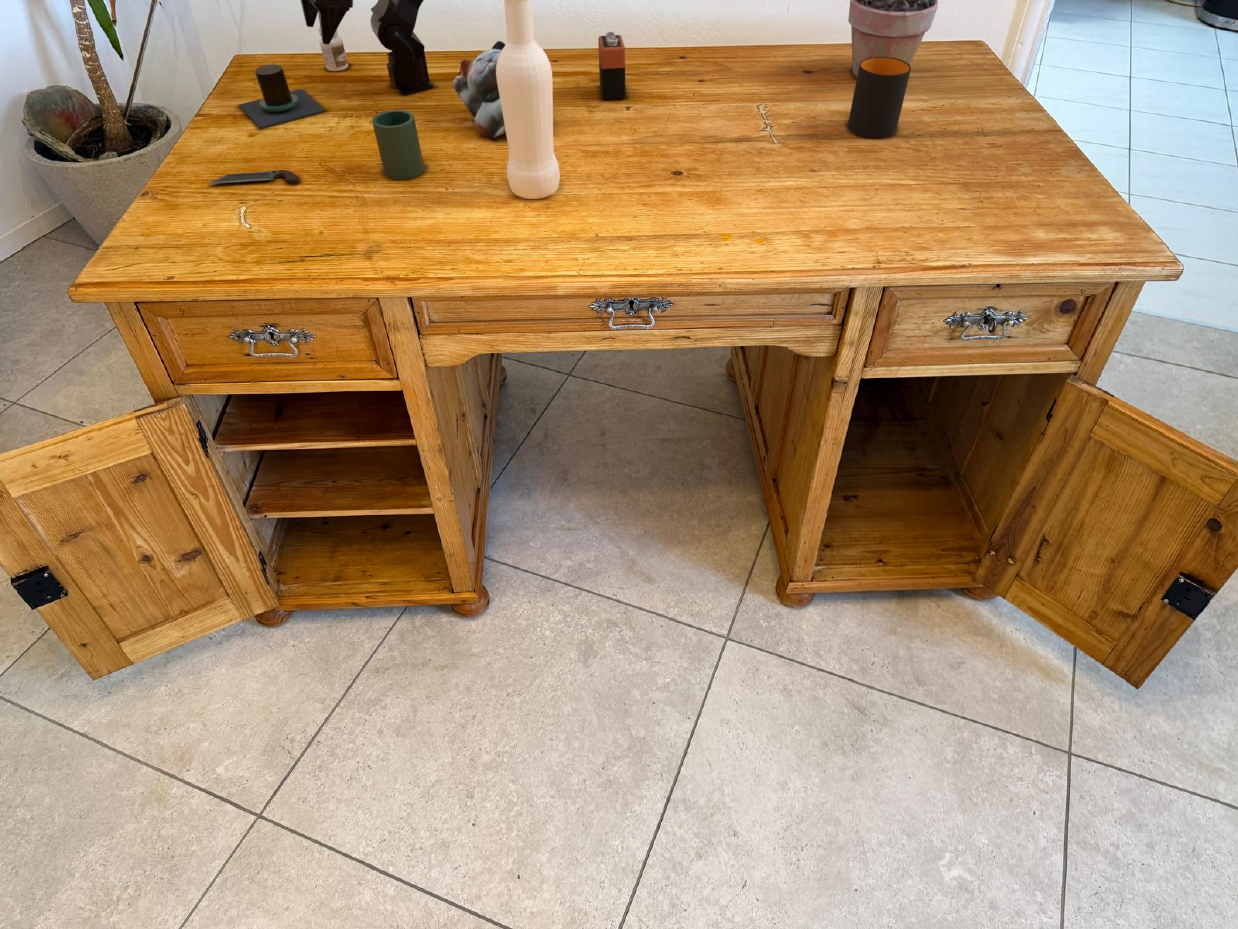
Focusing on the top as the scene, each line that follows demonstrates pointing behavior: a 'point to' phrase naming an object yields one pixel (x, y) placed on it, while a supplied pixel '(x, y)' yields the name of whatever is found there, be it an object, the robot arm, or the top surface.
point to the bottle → (527, 106)
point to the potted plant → (888, 28)
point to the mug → (878, 97)
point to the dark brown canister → (274, 89)
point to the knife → (256, 177)
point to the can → (398, 144)
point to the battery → (612, 66)
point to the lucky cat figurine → (482, 91)
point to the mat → (269, 118)
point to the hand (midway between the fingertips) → (317, 35)
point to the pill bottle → (334, 53)
